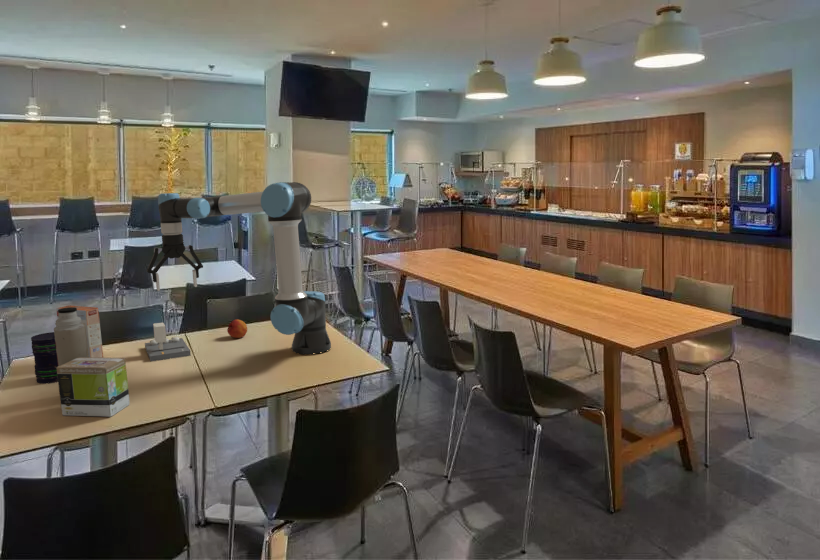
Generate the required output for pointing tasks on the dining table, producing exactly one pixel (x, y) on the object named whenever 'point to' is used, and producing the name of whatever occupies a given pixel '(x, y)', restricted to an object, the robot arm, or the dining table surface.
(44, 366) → the black striped canister
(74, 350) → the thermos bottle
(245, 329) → the fruit
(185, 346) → the console
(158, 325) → the block
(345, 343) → the dining table surface
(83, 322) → the cracker box
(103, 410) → the tea box
